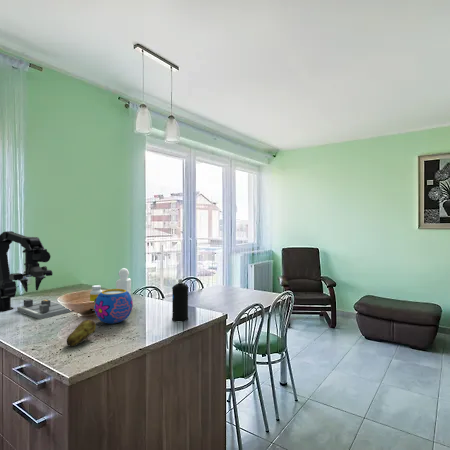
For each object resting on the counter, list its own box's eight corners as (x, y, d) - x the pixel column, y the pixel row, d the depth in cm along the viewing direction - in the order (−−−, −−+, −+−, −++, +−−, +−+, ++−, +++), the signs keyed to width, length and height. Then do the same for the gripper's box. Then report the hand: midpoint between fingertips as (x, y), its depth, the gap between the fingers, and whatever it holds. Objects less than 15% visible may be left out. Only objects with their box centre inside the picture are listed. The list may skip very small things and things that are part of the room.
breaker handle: (41, 306, 169) (41, 300, 169) (47, 305, 171) (47, 299, 171) (44, 307, 167) (44, 301, 167) (50, 306, 169) (50, 300, 169)
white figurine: (131, 305, 181) (131, 267, 181) (126, 308, 174) (126, 269, 174) (120, 304, 182) (120, 267, 181) (115, 307, 175) (115, 268, 175)
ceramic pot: (122, 314, 163) (122, 285, 163) (139, 322, 150) (139, 291, 150) (88, 321, 151) (88, 290, 151) (103, 331, 138) (103, 297, 138)
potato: (59, 344, 123) (59, 324, 123) (90, 335, 133) (90, 316, 133) (70, 350, 118) (70, 329, 118) (101, 339, 128) (101, 320, 128)
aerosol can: (191, 317, 157) (191, 278, 157) (182, 322, 150) (182, 281, 150) (177, 315, 161) (177, 277, 161) (168, 320, 153) (168, 279, 153)
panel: (17, 310, 169) (17, 300, 169) (51, 303, 183) (51, 294, 183) (39, 319, 154) (39, 308, 154) (74, 310, 169) (74, 300, 169)
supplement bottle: (98, 311, 169) (98, 287, 169) (87, 310, 170) (87, 286, 170) (105, 307, 175) (105, 285, 175) (94, 307, 177) (94, 284, 177)
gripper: (18, 264, 151) (18, 296, 151) (57, 260, 166) (57, 290, 166) (8, 262, 157) (8, 293, 157) (47, 259, 172) (47, 287, 172)
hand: (31, 291), depth 163 cm, fingers open, 5 cm apart
